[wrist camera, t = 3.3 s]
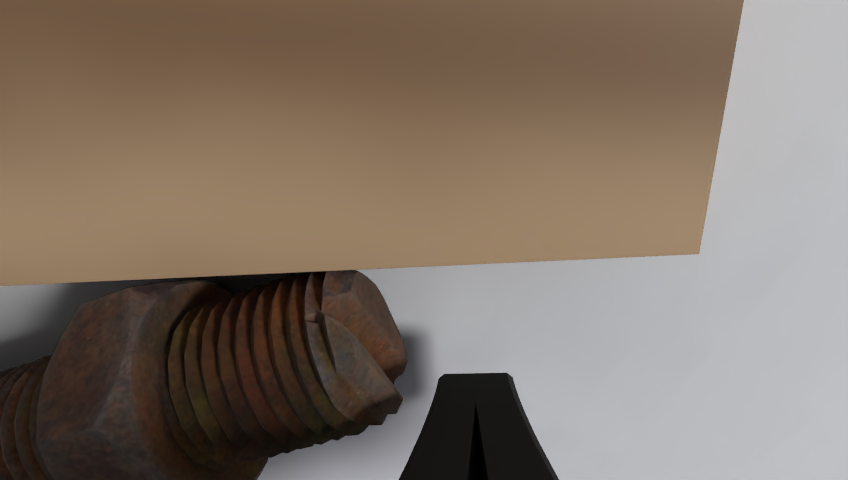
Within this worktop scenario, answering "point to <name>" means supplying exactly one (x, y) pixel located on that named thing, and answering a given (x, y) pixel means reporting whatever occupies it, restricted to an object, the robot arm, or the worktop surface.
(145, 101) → the walnut board
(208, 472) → the bolt
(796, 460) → the worktop surface
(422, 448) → the robot arm
